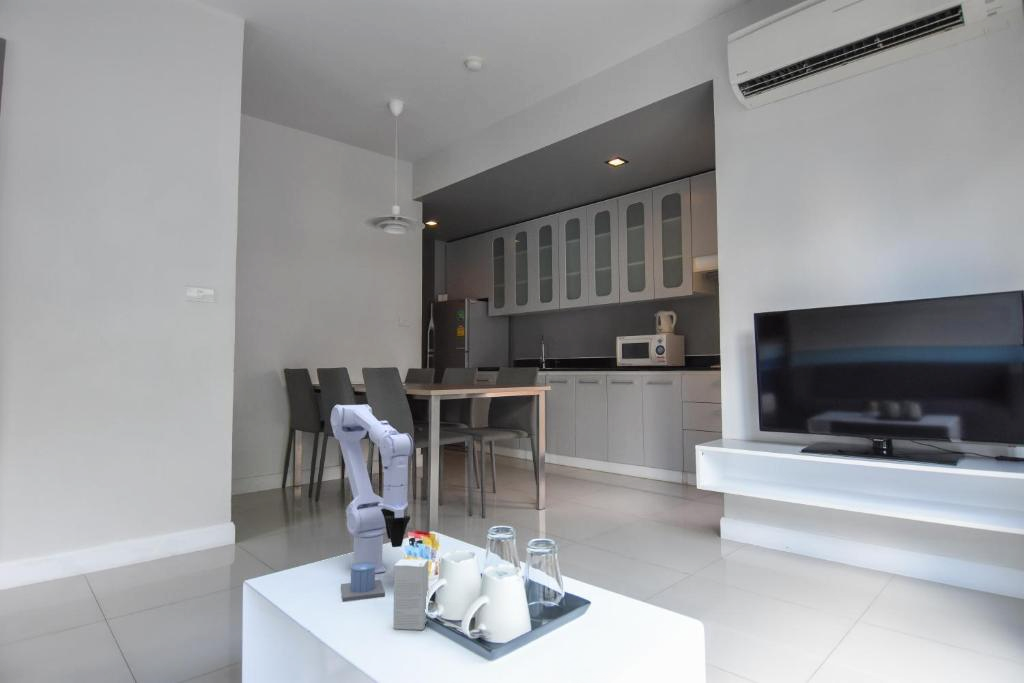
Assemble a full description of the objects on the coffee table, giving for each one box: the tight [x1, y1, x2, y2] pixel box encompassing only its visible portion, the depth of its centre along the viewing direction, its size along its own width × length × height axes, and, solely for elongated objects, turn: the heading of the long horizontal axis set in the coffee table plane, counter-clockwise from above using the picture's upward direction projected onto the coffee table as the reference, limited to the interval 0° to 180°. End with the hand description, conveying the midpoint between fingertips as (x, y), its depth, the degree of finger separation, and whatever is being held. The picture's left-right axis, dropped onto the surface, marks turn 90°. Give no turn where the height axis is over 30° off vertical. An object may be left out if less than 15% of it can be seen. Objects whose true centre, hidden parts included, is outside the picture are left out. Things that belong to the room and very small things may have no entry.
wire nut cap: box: [350, 562, 376, 593], centre depth 124 cm, size 5×5×5 cm
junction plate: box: [340, 579, 386, 602], centre depth 124 cm, size 9×9×4 cm
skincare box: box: [392, 558, 429, 631], centre depth 107 cm, size 6×4×12 cm
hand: (394, 542), depth 130 cm, fingers open, 7 cm apart
